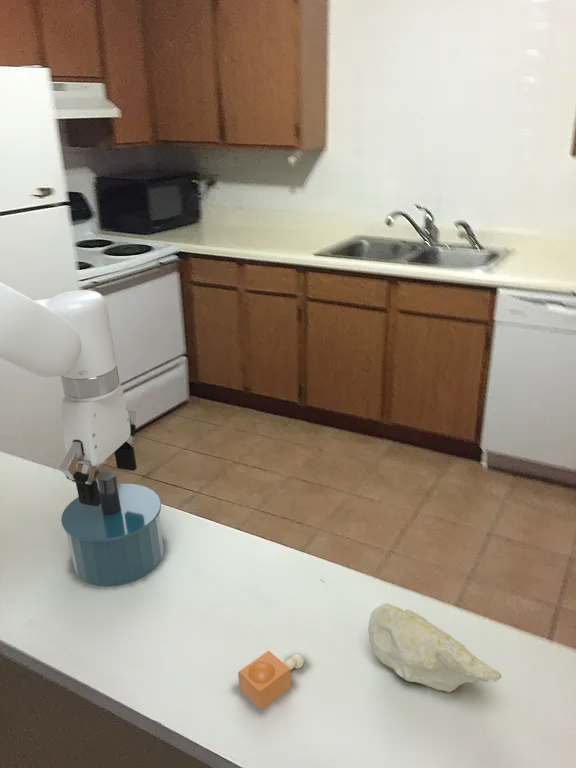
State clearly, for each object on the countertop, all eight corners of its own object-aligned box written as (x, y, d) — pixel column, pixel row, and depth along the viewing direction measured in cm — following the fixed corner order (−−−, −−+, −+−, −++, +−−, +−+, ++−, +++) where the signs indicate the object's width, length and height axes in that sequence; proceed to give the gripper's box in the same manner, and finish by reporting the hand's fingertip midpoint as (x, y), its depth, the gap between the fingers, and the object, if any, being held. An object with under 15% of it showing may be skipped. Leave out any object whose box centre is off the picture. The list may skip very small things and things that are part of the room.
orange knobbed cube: (291, 653, 86) (290, 629, 84) (313, 671, 83) (312, 647, 81) (239, 691, 80) (237, 666, 79) (260, 711, 78) (259, 686, 76)
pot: (134, 595, 96) (127, 547, 93) (56, 577, 101) (46, 530, 97) (179, 539, 108) (173, 495, 105) (106, 525, 112) (99, 482, 109)
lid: (129, 554, 93) (122, 511, 90) (41, 535, 97) (32, 494, 94) (178, 497, 105) (173, 458, 102) (99, 483, 110) (92, 445, 107)
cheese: (356, 644, 89) (349, 659, 75) (381, 593, 90) (378, 598, 76) (464, 706, 85) (477, 734, 71) (488, 652, 86) (506, 670, 72)
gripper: (102, 355, 101) (119, 453, 108) (26, 404, 86) (51, 515, 93) (146, 359, 98) (160, 460, 105) (76, 411, 84) (98, 523, 91)
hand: (109, 485), depth 99 cm, fingers open, 9 cm apart
